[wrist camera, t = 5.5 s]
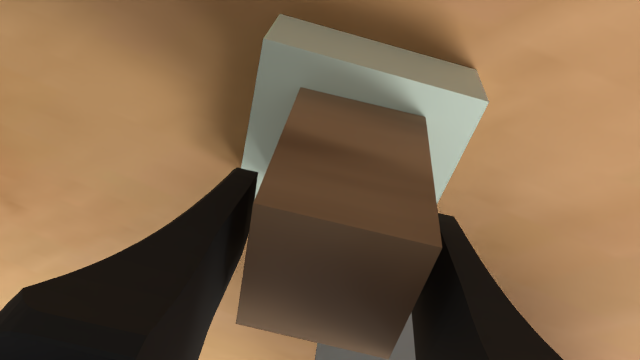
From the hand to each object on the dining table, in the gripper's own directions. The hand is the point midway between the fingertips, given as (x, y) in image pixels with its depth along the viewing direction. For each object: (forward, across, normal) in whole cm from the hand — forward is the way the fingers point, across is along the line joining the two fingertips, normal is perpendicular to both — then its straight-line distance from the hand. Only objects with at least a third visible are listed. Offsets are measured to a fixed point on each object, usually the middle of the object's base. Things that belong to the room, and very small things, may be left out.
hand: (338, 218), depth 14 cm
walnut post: (+3, 0, 0) cm, 3 cm away
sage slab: (+6, 0, 0) cm, 6 cm away
